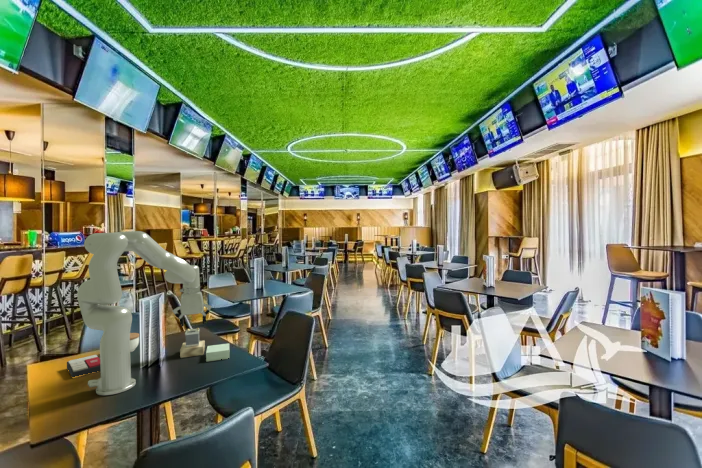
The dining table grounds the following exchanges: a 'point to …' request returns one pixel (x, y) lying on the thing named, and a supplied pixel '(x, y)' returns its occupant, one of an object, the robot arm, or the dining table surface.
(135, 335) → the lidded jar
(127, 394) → the dining table surface
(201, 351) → the stand
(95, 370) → the red and grey box
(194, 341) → the block
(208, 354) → the stand
